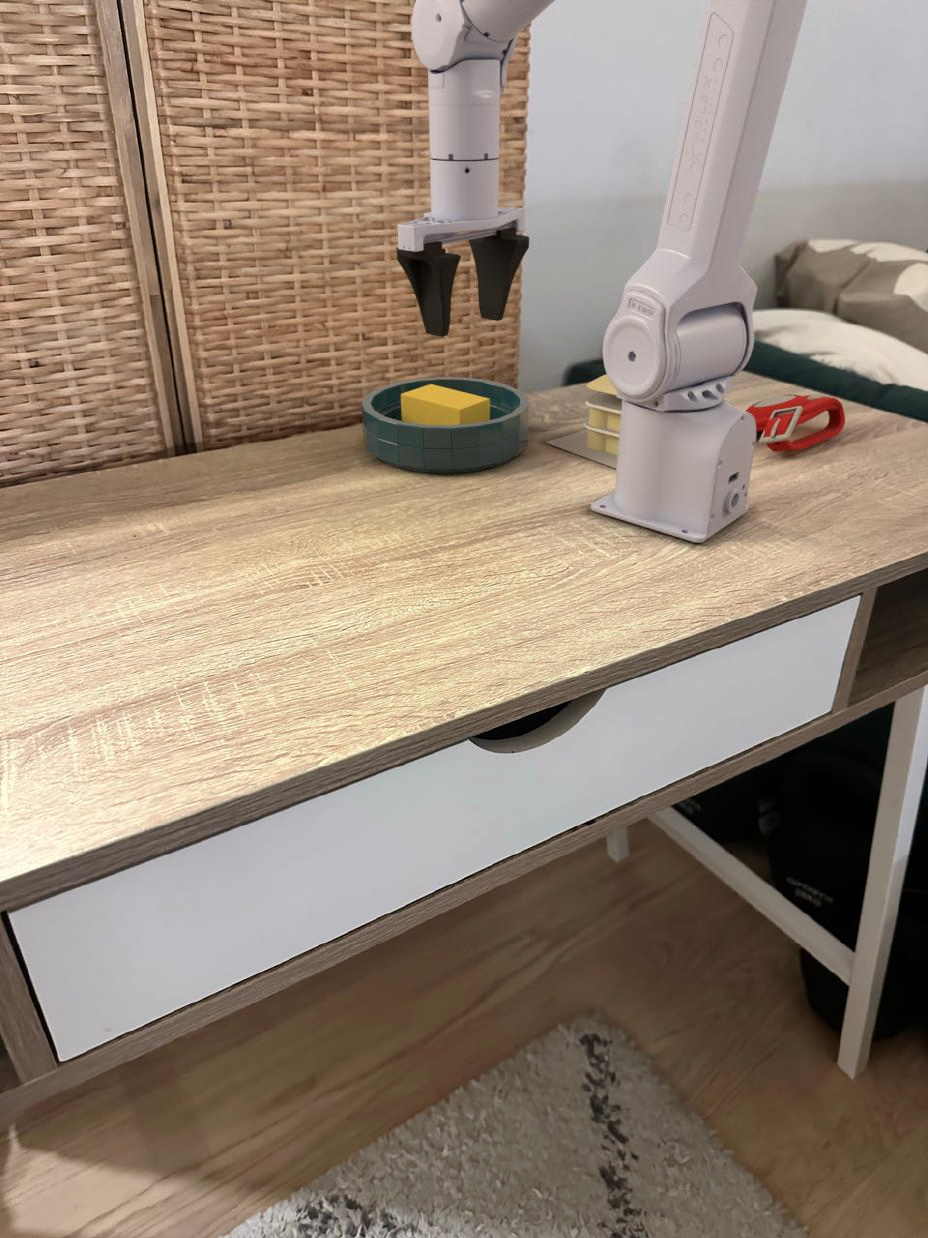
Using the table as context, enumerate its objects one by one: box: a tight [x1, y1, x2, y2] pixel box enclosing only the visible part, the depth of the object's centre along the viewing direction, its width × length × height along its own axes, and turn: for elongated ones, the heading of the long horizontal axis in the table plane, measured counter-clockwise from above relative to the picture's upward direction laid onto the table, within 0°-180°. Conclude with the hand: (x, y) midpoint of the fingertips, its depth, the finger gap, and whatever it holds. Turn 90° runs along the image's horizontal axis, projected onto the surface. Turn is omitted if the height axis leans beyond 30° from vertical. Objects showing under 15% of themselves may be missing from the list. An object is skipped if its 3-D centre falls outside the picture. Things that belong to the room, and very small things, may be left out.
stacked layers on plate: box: [544, 373, 622, 470], centre depth 83 cm, size 10×9×6 cm
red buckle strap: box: [745, 393, 846, 453], centre depth 85 cm, size 12×4×10 cm
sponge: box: [401, 384, 490, 425], centre depth 84 cm, size 7×4×4 cm, turn 50°
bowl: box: [361, 376, 530, 474], centre depth 84 cm, size 15×15×4 cm
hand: (465, 326), depth 84 cm, fingers open, 7 cm apart
